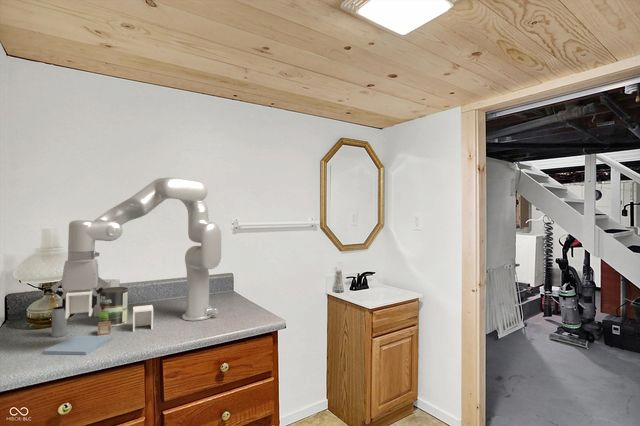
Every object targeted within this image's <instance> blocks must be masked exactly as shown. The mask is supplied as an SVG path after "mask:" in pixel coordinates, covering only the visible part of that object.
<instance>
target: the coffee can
mask: <svg viewBox="0 0 640 426" xmlns="http://www.w3.org/2000/svg"><path fill="white" fill-rule="evenodd" d="M128 296H129V288H128V287H125V286H120V287H111V288H105V289H103V291H102V292H100V306H99V317H98V323H99V322H106V321H111V327H113V328H114V327H119V326H122V325H125V324H126V323H128V298H129V297H128Z"/></svg>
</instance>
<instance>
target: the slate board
mask: <svg viewBox="0 0 640 426" xmlns="http://www.w3.org/2000/svg"><path fill="white" fill-rule="evenodd" d="M113 337H114V336H109V335H101V336H98V335H97V336H96V335H73V336H71V337H69V338H67V339H65V340H63V341H60V342H59V343H56V344H54V345H52V346H51V347H48V348H46V349H44V350H42V355H69V356H86V355H88V354H90V353H91V352H93V351H95V350H97V349H98V348H100V347H102V346H104V345H105V344H107V343H109V342H111V341H112V340H113Z"/></svg>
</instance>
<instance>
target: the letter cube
mask: <svg viewBox="0 0 640 426" xmlns="http://www.w3.org/2000/svg"><path fill="white" fill-rule="evenodd" d="M111 330H112V329H111V321H106V322H99V321H98V323H97V336H109V335H111V332H112V331H111Z"/></svg>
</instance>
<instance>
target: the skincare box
mask: <svg viewBox="0 0 640 426" xmlns="http://www.w3.org/2000/svg"><path fill="white" fill-rule="evenodd" d="M103 280H104V281H106V282H107V283H108V285H107V286H106V287H105V288H111V287H121V286H120V279H115V278H114V279H109V278H108V279H105V278H103ZM101 286H102V284H101V283H99V282H98V285H97V287H96V289H97V290H98V289H99V288H100V287H101ZM105 288H104V289H105ZM99 306H100V293H99V294H98V295H97V305H95V307H94V308H93V317H97V318H99Z"/></svg>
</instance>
